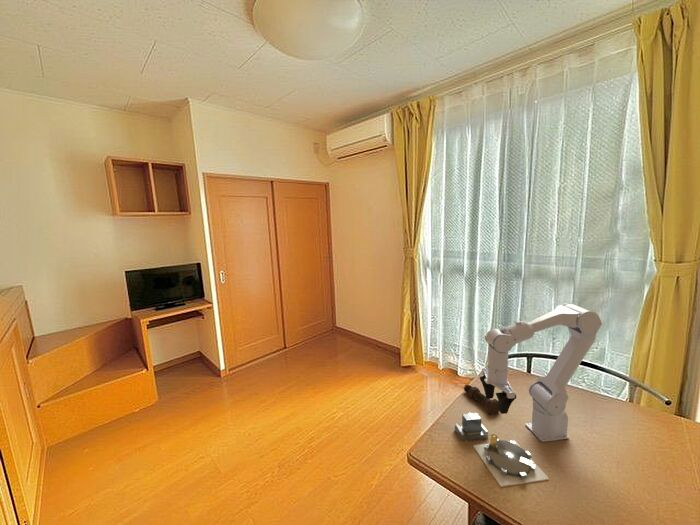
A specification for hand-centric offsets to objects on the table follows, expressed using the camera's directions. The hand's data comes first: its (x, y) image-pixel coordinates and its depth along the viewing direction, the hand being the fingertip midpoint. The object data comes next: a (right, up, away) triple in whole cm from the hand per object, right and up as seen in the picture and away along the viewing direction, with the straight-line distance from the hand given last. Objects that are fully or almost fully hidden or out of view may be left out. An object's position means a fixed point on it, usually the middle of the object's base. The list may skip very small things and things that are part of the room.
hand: (496, 405), depth 94 cm
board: (-1, -12, -10) cm, 15 cm away
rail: (-8, -11, +2) cm, 13 cm away
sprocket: (-1, -12, -10) cm, 15 cm away
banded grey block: (-7, -9, +2) cm, 12 cm away
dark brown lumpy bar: (+3, -8, +18) cm, 20 cm away
